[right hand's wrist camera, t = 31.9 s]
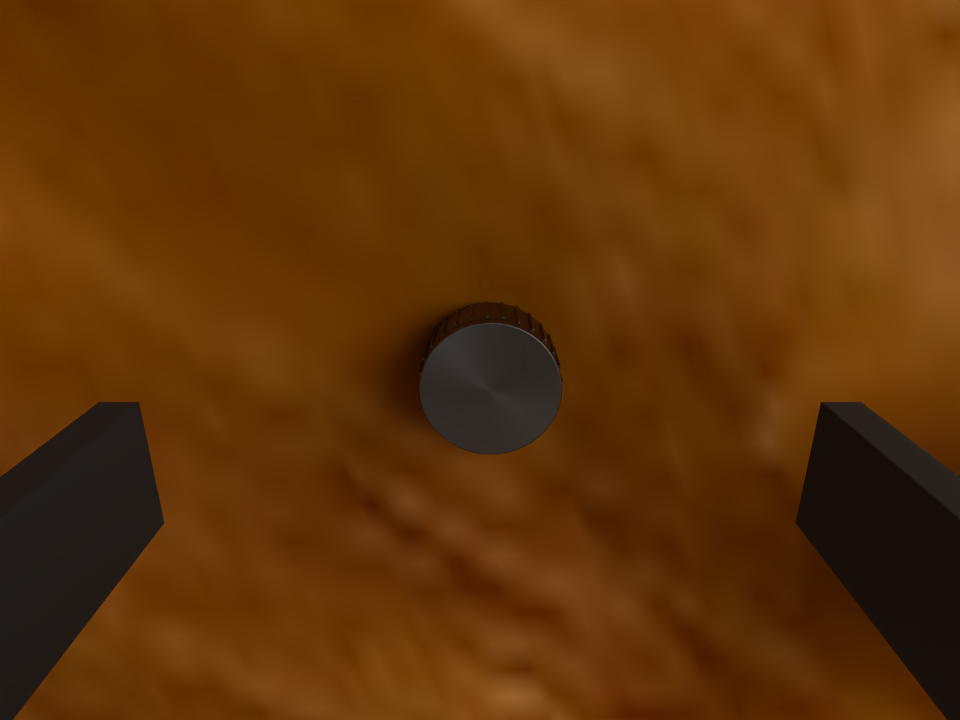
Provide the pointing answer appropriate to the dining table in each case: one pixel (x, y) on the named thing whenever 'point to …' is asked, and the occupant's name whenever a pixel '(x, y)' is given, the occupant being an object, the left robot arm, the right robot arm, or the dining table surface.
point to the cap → (490, 379)
